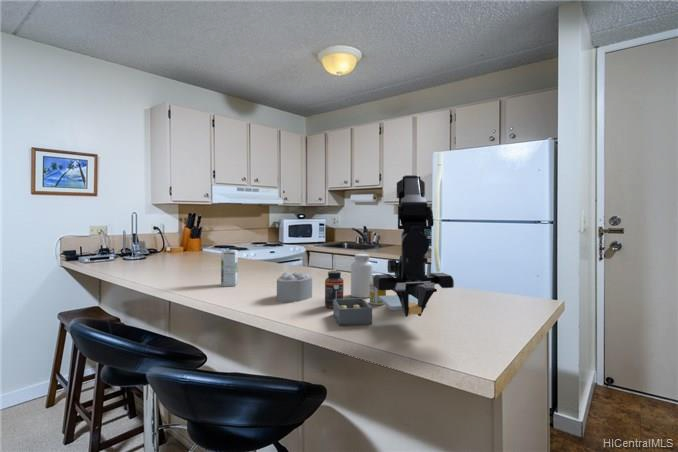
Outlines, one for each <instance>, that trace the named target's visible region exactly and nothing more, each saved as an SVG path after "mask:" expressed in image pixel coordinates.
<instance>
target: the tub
mask: <svg viewBox="0 0 678 452" xmlns="http://www.w3.org/2000/svg"><path fill="white" fill-rule="evenodd" d="M332 309H333V312H332V313H333V316H334V318H335V321H336V322H337V324H338V326H339V327H344V326H345V327H347V326H348V327H350V326H365V325H366V326H367V325H373V307H372V306H371V305H370V304H369V303H368V302H367V301H366V300H365V298H357V297H353V298H343V299H333V308H332Z"/></svg>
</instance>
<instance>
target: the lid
mask: <svg viewBox="0 0 678 452" xmlns="http://www.w3.org/2000/svg"><path fill="white" fill-rule="evenodd" d="M379 300H380V301H382V302H383V303H384V304H383V305H385V306H386V307H387V308H388V309H389V310H393V311H394V310H403V309H402V305H401V302H400V300H399V297H398V295H397V294H396V295H395V294H394V295H386V296H379ZM424 309H427V305H426V306H425V308H424ZM418 314H421V307H420V306H419V305H418V299H416V298H415V297H413V296H412V295H409V311H408V315H418Z"/></svg>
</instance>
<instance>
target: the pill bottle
mask: <svg viewBox="0 0 678 452" xmlns="http://www.w3.org/2000/svg"><path fill="white" fill-rule="evenodd" d="M373 267H374V266H373V263H372V262H370V254H367V253H356V254H355V255H354V261H353V262H352V263H351V265H350V296H352V297H353V298H363V299H367V298H370V281H371V280H373V279H372V274H374V273H373V271H374V268H373Z"/></svg>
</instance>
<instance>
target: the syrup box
mask: <svg viewBox="0 0 678 452" xmlns="http://www.w3.org/2000/svg"><path fill="white" fill-rule="evenodd" d="M238 251H239V250H237V249H224V250H223V251H221V253H220V257H221V258H220V260H221V262H220V287H236V286H237V284H238V282H239V280H238V279H239V278H238V277H239V276H238V274H239V269H238V268H239V266H238V265H239V262H238V261H239V259H238V258H239V257H238V256H239V254H238V253H239V252H238Z"/></svg>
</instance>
